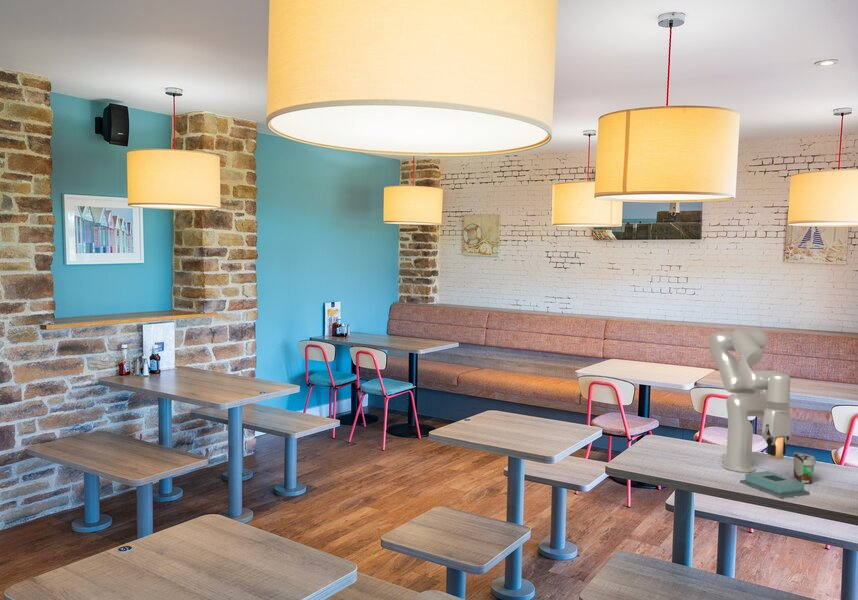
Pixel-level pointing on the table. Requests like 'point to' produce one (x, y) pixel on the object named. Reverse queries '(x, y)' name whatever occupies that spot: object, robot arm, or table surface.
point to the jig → (775, 484)
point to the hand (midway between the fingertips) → (776, 454)
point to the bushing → (778, 448)
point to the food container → (803, 467)
